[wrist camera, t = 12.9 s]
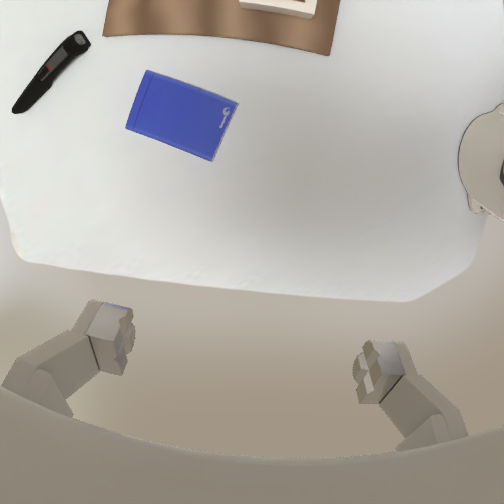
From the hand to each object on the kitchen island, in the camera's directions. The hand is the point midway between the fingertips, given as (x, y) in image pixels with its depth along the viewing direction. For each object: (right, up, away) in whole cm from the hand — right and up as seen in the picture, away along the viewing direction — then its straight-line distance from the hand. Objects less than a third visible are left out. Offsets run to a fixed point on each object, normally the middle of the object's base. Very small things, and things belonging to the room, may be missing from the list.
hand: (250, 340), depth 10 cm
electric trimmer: (-28, +28, +21) cm, 45 cm away
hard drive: (-9, +20, +25) cm, 34 cm away
